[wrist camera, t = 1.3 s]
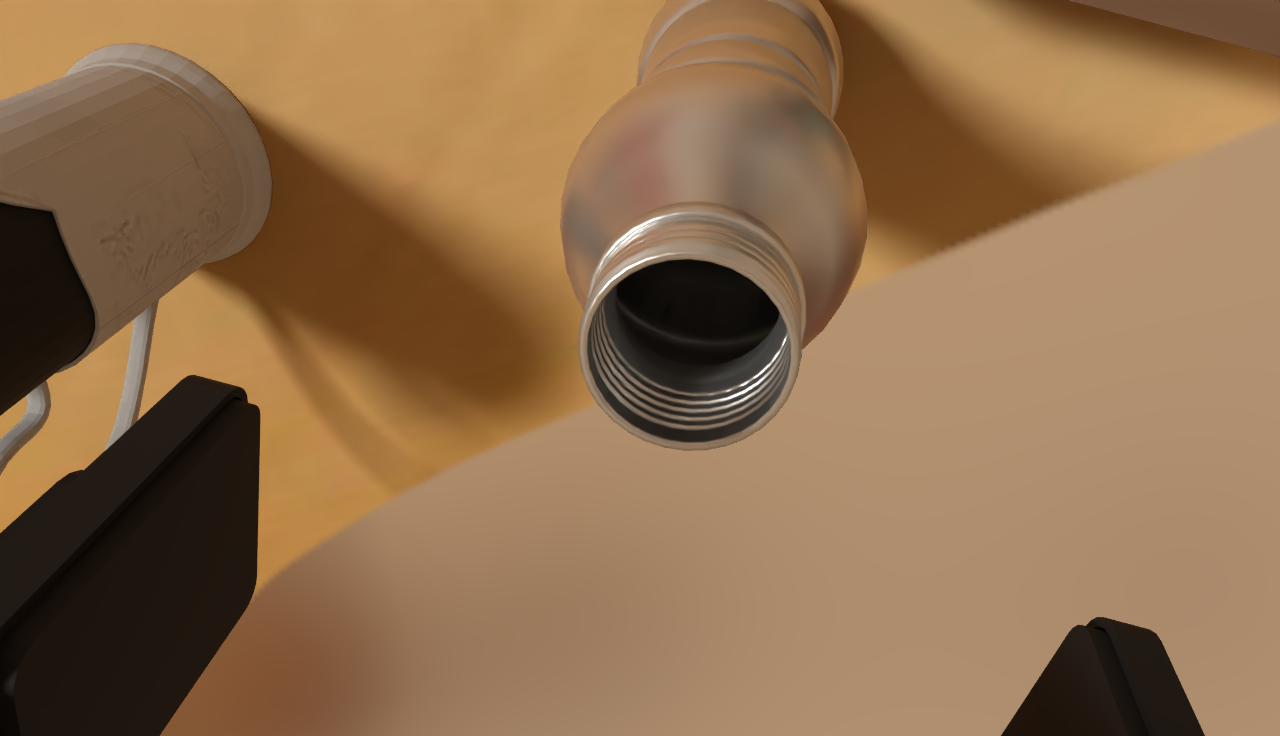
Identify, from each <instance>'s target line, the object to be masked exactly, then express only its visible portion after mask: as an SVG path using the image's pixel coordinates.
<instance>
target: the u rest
mask: <svg viewBox="0 0 1280 736" xmlns="http://www.w3.org/2000/svg"><path fill="white" fill-rule="evenodd" d="M1069 1H1072V2H1076V3H1080V4H1084V5H1087V6H1091V7H1095V8H1099V9H1102V10H1106V11H1110V12H1114V13H1117V14H1121V15H1125V16H1129V17H1132V18H1136V19H1140V20H1144V21H1147V22H1151V23H1155V24H1159V25H1162V26H1166V27H1170V28H1174V29H1177V30H1181V31H1185V32H1189V33H1192V34H1196V35H1200V36H1204V37H1207V38H1211V39H1215V40H1219V41H1222V42H1226V43H1230V44H1234V45H1237V46H1241V47H1245V48H1249V49H1252V50H1256V51H1260V52H1263V53H1267V54H1271V55H1275V56H1278V57H1280V0H1069Z"/></svg>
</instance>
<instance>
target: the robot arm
mask: <svg viewBox="0 0 1280 736" xmlns="http://www.w3.org/2000/svg"><path fill="white" fill-rule="evenodd" d="M259 455H260V410H259V408H258V406H256V405H254V404H250V403H248V400H247V394H246V392H245V390H244V389H242V388H241V387H237V386H234V385H230V384H226V383H222V382H219V381H215V380H211V379H207V378H204V377H200V376H196V375H190V376H187V377H186V378H184V379H183V380H181V381H180V382H179V383H178V384H177V385H176V386H175V387H174V388H173V389H172V390H170V391H169V392H168V393H167V394H166V395H165V396H164V397H163V398H162V399H161V400H160V401H159V402H157V403H156V404H155V405H154V406H153V407H152V408H151V409H150V410H149V411H148V412H147V413H146V414H144V415H143V416H142V417H141V418H140V419H139V420H138V421H137V422H136V423H135V424H134V425H133V426H131V427H130V428H129V429H128V430H127V431H126V432H125V433H124V434H123V435H122V436H121V437H120V438H118V439H117V440H116V441H115V442H114V443H113V444H112V445H111V446H110V447H109V448H108V449H107V450H105V451H104V452H103V453H102V454H101V455H100V456H99V457H98V458H97V459H96V460H95V461H94V462H92V463H91V464H90V465H89V466H88V467H87V468H86V469H85V470H79V471H75V472H72V473H69V474H68V475H66V476H65V477H63V478H62V479H61V480H59V481H58V482H57V483H55V484H54V485H53V486H52V487H51V488H50V489H49V490H48V491H47V492H45V493H44V494H43V495H42V496H41V497H40V498H39V499H38V500H37V501H36V502H34V503H33V504H32V505H31V506H30V507H29V508H28V509H27V510H26V511H24V512H23V513H22V514H21V515H20V516H19V517H18V518H17V519H16V520H15V521H13V522H12V523H11V524H10V525H9V526H8V527H7V528H6V529H5V530H3V531H2V532H1V533H0V736H160V734H161V733H162V731H163V730H164V728H165V727H166V725H167V724H168V722H169V721H170V719H171V718H172V717H173V715H174V714H175V712H176V710H177V709H178V708H179V706H180V705H181V703H182V702H183V701H184V699H185V698H186V696H187V695H188V693H189V692H190V690H191V689H192V687H193V686H194V684H195V683H196V682H197V680H198V679H199V677H200V676H201V674H202V673H203V671H204V670H205V668H206V667H207V666H208V664H209V663H210V661H211V659H212V658H213V657H214V655H215V654H216V652H217V651H218V649H219V648H220V647H221V645H222V644H223V642H224V641H225V639H226V638H227V636H228V635H229V633H230V632H231V630H232V629H233V628H234V626H235V625H236V623H237V622H238V620H239V619H240V617H241V616H242V614H243V613H244V611H245V610H246V608H247V606H248V605H249V602H250V600H251V598H252V595H253V592H254V589H255V585H256V580H257V548H258V501H259ZM1001 736H1205V735H1204V733H1203V731H1202V729H1201V726H1200V724H1199V722H1198V720H1197V718H1196V716H1195V713H1194V711H1193V709H1192V707H1191V705H1190V702H1189V700H1188V698H1187V696H1186V694H1185V692H1184V689H1183V688H1182V685H1181V683H1180V681H1179V679H1178V676H1177V675H1176V673H1175V670H1174V668H1173V666H1172V663H1171V661H1170V659H1169V657H1168V655H1167V653H1166V650H1165V648H1164V646H1163V644H1162V642H1161V640H1160V639H1159V637H1158V636H1157V634H1156V633H1154V632H1153V631H1151V630H1149V629H1146V628H1141V627H1138V626H1134V625H1131V624H1127V623H1123V622H1119V621H1116V620H1112V619H1108V618H1104V617H1097V618H1095V619H1093V620H1091V621H1090V622H1089V623H1088V624H1087V626H1083V625H1077V626H1075V627H1074V628H1072V630H1071V631H1070V632H1069V633H1068V635H1067V636H1066V638H1065V640H1064V641H1063V642H1062V644H1061V645H1060V647H1059V648H1058V650H1057V651H1056V653H1055V654H1054V656H1053V658H1052V659H1051V661H1050V662H1049V664H1048V665H1047V667H1046V668H1045V670H1044V671H1043V673H1042V674H1041V676H1040V677H1039V679H1038V680H1037V682H1036V683H1035V685H1034V686H1033V688H1032V689H1031V691H1030V693H1029V694H1028V696H1027V697H1026V699H1025V700H1024V702H1023V703H1022V705H1021V706H1020V708H1019V709H1018V711H1017V712H1016V714H1015V715H1014V717H1013V719H1012V720H1011V722H1010V723H1009V724H1008V726H1007V727H1006V729H1005V730H1004V732H1003V734H1002V735H1001Z"/></svg>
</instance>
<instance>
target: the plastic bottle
mask: <svg viewBox="0 0 1280 736" xmlns="http://www.w3.org/2000/svg"><path fill="white" fill-rule="evenodd" d="M843 62H844V60H843V55H842V50H841V44H840V39H839V37H838V34H837V32H836V29H835V27H834V24H833V22H832V19H831V18H830V16H829V15H828V13H827V12H826V10H825V9H824V7H823V6H822V4H821V3H820V1H819V0H668V1H667V2H666V3H665V4H664V6H663V7H662V8H661V10H660V11H659V12H658V14H657V15H656V16H655V18H654V19H653V21H652V23H651V26H650V28H649V30H648V32H647V34H646V36H645V38H644V41H643V45H642V49H641V52H640V56H639V62H638V73H637V86H636V87H634V88H633V89H631V90H630V91H629V92H628V93H627V94H626V95H624V96H623V97H622V98H621V99H620V100H619V101H617V102H616V103H615V104H614V105H613V106H612V107H610V108H609V110H608V111H607V112H606V113H605V114H604V115H603V116H602V118H601V119H600V120H599V121H598V122H597V124H596V125H595V126H594V128H593V129H592V130H591V132H590V133H589V134H588V136H587V137H586V138H585V139H584V141H583V142H582V144H581V146H580V148H579V150H578V152H577V154H576V156H575V158H574V160H573V162H572V164H571V166H570V168H569V171H568V175H567V179H566V183H565V187H564V191H563V195H562V199H561V220H560V230H561V236H562V243H563V250H564V256H565V263H566V269H567V273H568V276H569V279H570V281H571V284H572V287H573V290H574V293H575V295H576V298H577V299H578V301H579V303H580V304H581V306H582V308H583V309H584V314H583V317H582V321H581V324H580V334H579V357H580V364H581V370H582V373H583V376H584V379H585V381H586V384H587V387H588V389H589V391H590V392H591V394H592V396H593V397H594V399H595V400H596V402H597V404H598V405H599V406H600V407H601V409H602V410H603V411H604V412H605V413H606V414H607V415H608V416H609V417H610V418H611V419H612V420H613V421H614V422H615V423H617V424H618V425H619V426H621V427H622V428H623V429H624V430H626V431H627V432H629V433H631V434H632V435H635V436H636V437H638V438H640V439H642V440H644V441H646V442H650V443H652V444H655V445H659V446H662V447H665V448H672V449H678V450H685V451H686V450H709V449H713V448H719V447H724V446H727V445H730V444H733V443H735V442H738V441H740V440H743V439H745V438H747V437H748V436H750V435H752V434H753V433H755V432H757V431H758V430H760V429H761V428H763V427H764V426H765V425H766V424H767V423H768V422H769V421H770V420H771V419H772V418H773V417H775V416H776V414H777V413H778V412H779V410H780V409H781V408H782V406H783V405H784V403H785V402H786V401H787V399H788V397H789V395H790V393H791V390H792V388H793V386H794V384H795V381H796V378H797V376H798V371H799V366H800V361H801V357H802V353H801V351H802V349H804V348H805V347H806V346H807V345H808V344H809V343H810V342H811V341H812V340H813V339H814V338H815V337H816V336H817V335H819V334H820V333H821V332H822V331H823V330H824V328H825V327H826V326H827V324H828V322H829V321H830V320H831V319H832V317H833V316H834V314H835V313H836V312H837V310H838V309H839V307H840V306H841V304H842V302H843V301H844V299H845V297H846V296H847V294H848V292H849V290H850V287H851V285H852V283H853V281H854V279H855V277H856V274H857V272H858V270H859V268H860V265H861V260H862V256H863V252H864V247H865V243H866V239H867V202H866V197H865V192H864V186H863V181H862V177H861V174H860V172H859V169H858V166H857V164H856V161H855V159H854V156H853V154H852V152H851V149H850V147H849V144H848V142H847V140H846V137H845V136H844V134H843V133H842V131H841V130H840V128H839V127H838V125H837V124H836V123H835V121H834V117H835V115H836V112H837V109H838V105H839V101H840V96H841V91H842V86H843Z"/></svg>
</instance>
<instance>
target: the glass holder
mask: <svg viewBox="0 0 1280 736" xmlns="http://www.w3.org/2000/svg"><path fill="white" fill-rule="evenodd" d="M271 197H272V178H271V170H270V163H269V160H268V156H267V153H266V150H265V147H264V143H263V141H262V139H261V137H260V135H259V133H258V131H257V129H256V127H255V124H254V123H253V121H252V120H251V118H250V117H249V115H248V114H247V112H246V111H245V109H244V108H243V106H242V105H241V104H240V103H239V101H238V100H237V99H236V98H235V97H234V96H233V95H232V93H231V92H230V91H229V90H228V89H227V88H226V87H225V86H224V85H223V84H222V83H220V82H219V81H218V80H217V79H216V78H215V77H214V76H212V75H211V74H210V73H209V72H207V71H206V70H204V69H203V68H201V67H200V66H198V65H197V64H195V63H194V62H192V61H191V60H188V59H186V58H184V57H182V56H180V55H178V54H176V53H173V52H171V51H168V50H165V49H161V48H158V47H154V46H151V45H142V44H133V43H128V44H117V45H110V46H107V47H104V48H101V49H98V50H95V51H93V52H92V53H90V54H88V55H87V56H85V57H83V58H82V59H80V60H79V61H78V62H77V63H76V64H75V65H74V66H73V67H72V68H71V69H70V70H69V71H68V72H67V73H66V75H65V77H62V78H60V79H57V80H54V81H52V82H49V83H46V84H44V85H41V86H38V87H36V88H33V89H30V90H28V91H25V92H22V93H20V94H17V95H14V96H12V97H9V98H6V99H4V100H1V101H0V415H2V414H3V413H4V412H6V411H7V410H8V409H9V408H11V407H12V406H13V405H15V404H16V403H17V402H18V401H20V400H21V399H22V398H24V397H25V396H26V395H27V404H28V405H27V409H26V413H25V415H24V416H23V417H22V419H21V420H20V422H19V423H18V424H17V425H16V426H15V427H13V428H12V429H11V430H10V431H9V432H8V433H7V434H6V435H4V436H3V437H2V438H1V439H0V475H1V473H2V472H3V470H4V468H5V467H6V465H7V464H8V462H9V461H10V460H11V459H12V457H13V456H14V455H15V454H16V453H17V452H18V451H19V450H20V449H21V448H22V447H23V446H24V445H25V444H26V443H27V442H28V441H29V440H31V439H32V438H33V437H34V436H35V435H36V434H37V432H38V431H39V430H40V429H41V428H42V427H43V425H44V424H45V422H46V420H47V418H48V416H49V412H50V407H51V400H50V392H49V388H48V384H47V381H46V380H47V379H48V378H49V377H51V376H52V375H53V374H55V373H59V372H61V371H64V370H66V369H68V368H70V367H72V366H75V365H76V364H77V363H79V362H80V361H81V360H82V359H84V358H85V357H86V356H87V355H89V354H90V353H91V352H93V351H94V350H95V349H96V348H98V347H99V346H100V345H101V344H103V343H104V342H105V341H107V340H108V339H109V338H110V337H112V336H113V335H114V334H115V333H117V332H118V331H119V330H121V329H122V328H123V327H124V326H126V325H127V324H128V323H129V322H131V321H132V320H133V319H134V326H133V332H132V338H131V344H130V351H129V358H128V365H127V371H126V377H125V382H124V387H123V392H122V396H121V401H120V406H119V409H118V413H117V417H116V421H115V425H114V428H113V431H112V433H111V436H110V438H109V441H108V443H107V446H106V448H105V450H107V449H108V448H109V447H110V446H111V445H112V444H113V443H114V442H115V441H116V440H117V439H118V438H120V437H121V436H122V435H123V434H124V433H125V432H126V431H127V430H128V429H129V428H130V427H131V426H133V425H134V424H135V423H136V422H137V419H138V415H139V411H140V406H141V400H142V394H143V389H144V384H145V379H146V374H147V368H148V361H149V354H150V348H151V341H152V335H153V329H154V322H155V317H156V312H157V307H158V302H159V299H160V298H161V297H163V296H164V295H165V294H166V293H168V292H169V291H170V290H172V289H173V288H174V287H175V286H177V285H178V284H179V283H180V282H182V281H183V280H184V279H186V278H187V277H188V276H189V275H191V274H192V273H193V272H194V271H196V270H197V269H198V268H200V267H201V266H202V265H203V264H205V263H211V262H215V261H219V260H223V259H225V258H227V257H229V256H232V255H234V254H236V253H238V252H239V251H241V250H242V249H243V248H245V247H246V246H247V245H248V244H250V243H251V242H252V241H253V239H254V238H255V237H256V236H257V234H258V233H259V232H260V231H261V229H262V226H263V224H264V222H265V220H266V218H267V216H268V212H269V208H270V203H271Z"/></svg>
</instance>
